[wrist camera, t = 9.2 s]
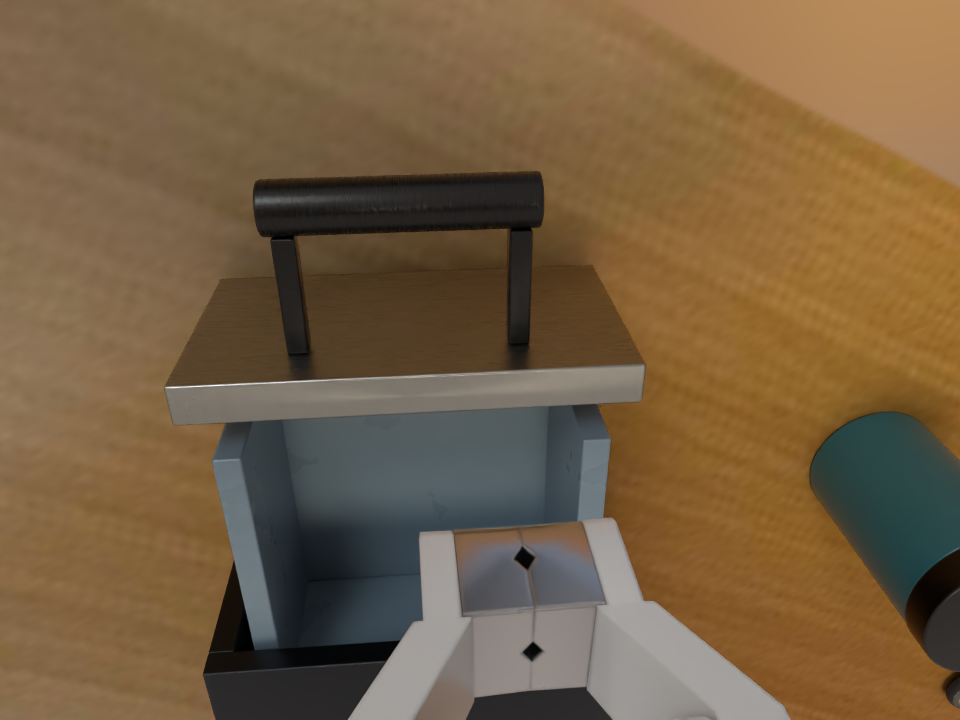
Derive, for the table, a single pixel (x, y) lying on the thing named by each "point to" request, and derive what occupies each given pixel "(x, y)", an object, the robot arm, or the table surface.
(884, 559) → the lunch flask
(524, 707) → the drawer cabinet
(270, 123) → the table surface
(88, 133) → the table surface
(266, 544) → the drawer with handle
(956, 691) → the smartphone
